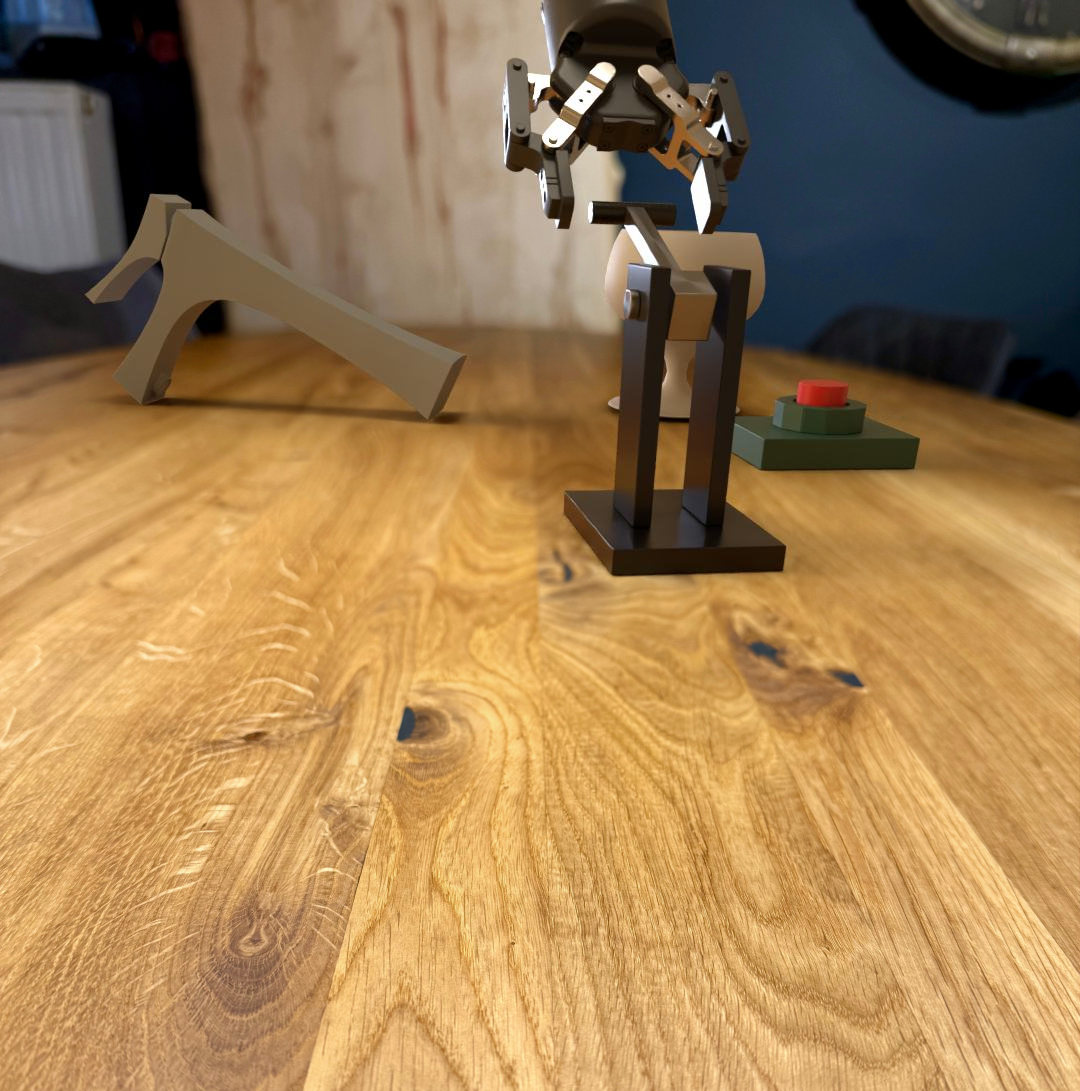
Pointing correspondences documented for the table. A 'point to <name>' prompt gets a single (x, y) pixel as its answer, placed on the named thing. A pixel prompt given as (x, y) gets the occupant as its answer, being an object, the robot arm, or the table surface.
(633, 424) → the bracket
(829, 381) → the button
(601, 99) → the robot arm
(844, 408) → the button box
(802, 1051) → the table surface
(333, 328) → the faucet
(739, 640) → the table surface
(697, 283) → the lever
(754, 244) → the chalice
